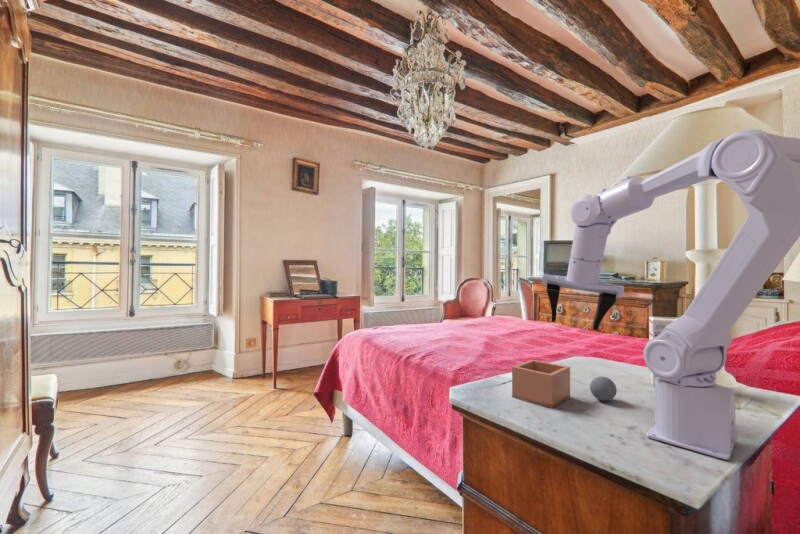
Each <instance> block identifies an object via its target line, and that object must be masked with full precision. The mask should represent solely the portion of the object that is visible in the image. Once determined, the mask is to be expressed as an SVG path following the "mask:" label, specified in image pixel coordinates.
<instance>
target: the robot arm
mask: <svg viewBox="0 0 800 534" xmlns="http://www.w3.org/2000/svg"><path fill="white" fill-rule="evenodd" d="M707 180H721V181H722V182H723V183H724V184H725V185H727V186H728V187H729V188H730V189H731V190H732V191H733V192H735V193H736V194H737V195H738V197H739V198H740V200H741V202H742V204H743V206H744V208H745V210H746V211H747V217H746V219H745V220H744V222H743V224H742V225H741V226H740V228H739V229H738V231H737V232H736V234H735V235H734V237H733V239H732V240H731V241H730V243H729V244H728V246H727V248H726V249H725V251H723V254H722V255H721V257H720V258H719V260H718V262H717V263H716V265H715V266H714V268H713V270H712V271H711V272H710V273H709V275H708V277H707V279H706V280H705V281H704V282H703V284H702V286H701V287H700V289H699V290H698V292H697V294H696V295H695V297H694V298H693V300H692V301H691V302H690V304H689V306H688V307H687V309H686V310H685V312H684V313H683V315H681V316H679V317H677V318H678V319H676V320H675V321H673V322H672V323H670V324H669V325H667V326H666V327H665V328H664V330H663V331H662V333H661V334H660V335H658V336H657V337H655V338H652V339H651V340H648V341H647V342H646V343H645V346H644V347H643V359H644V363H645V365H646V366H647V368H648V370H649V372H650V371H651V372H652V373H653V378H655V386H654V424H653V426H652V427H651V428H650V429H649V430H648V431H647V432H646V433H645V434H646V437H647V438H650V439H652V440H656V441H659V442H664V443H666V444H670V445H673V446H677V447H681V448H684V449H688V450H691V451H695V452H698V453H702V454H704V455H708V456H712V457H715V458H718V459H723V460H725V461H726V460H730V458H731V457H732V456H731V455H732V453H733V451H734V447H735V445H736V443H737V438H738V433H737V432H738V431H737V429H736V394H735V389H734V388H732V387H728V386H723V385H720V384H717V383H716V379H717V373H718V372H720V370H722V369H723V368H724V366H725V364H726V361H727V351H728V349H729V347H730V345H731V344H732V343H733V339H732V337H731V335H730V333H729V332H730V331H731V329H732V328H733V327H734V325H735V324H736V322H737V321H738V320H739V319H740V317H741V316H742V315H743V313H744V312H745V311H746V310H747V307H748V306H749V305H750V304H751V302H752V301H753V300H754V299H755V297H756V296H757V294H758V293H759V292H760V290H761V289H762V288H763V286H764V285H765V284H766V282H767V281H768V279H770V277H771V276H772V274H773V273H774V272H775V270H776V269H777V267H778V266H779V264H781V262H783V259H784V258H785V257H786V256H787V254H788V253H789V251H791V249H792V247H794V245H795V243H796V242H797V241H798V240H799V238H800V138H799V137H796V136H795V137H792V136H783V135H778V134H773V133H769V132H766V131H764V130H761V129H754V128H746V129H743V130H739V131H736V132H734V133H732V134H730V135H729V136H727V137H725V138H720V139H718V140H715V141H712V142H710V143H709V144H708V145H706V146H705V147H704V148H703V149H701V150H700V151H698V152H696V153H694V154H692V155H691V156H688V157H686V158H684V159H682V160H681V161H678V162H676V163H675V164H673V165H671V166H669V167H667V168H665V169H663V170H660V171H659V172H657V173H655V174H653V175H651V176H649V177H647V178H643V177H642V176H641V177H640V176H630V175H629V176H625V177H623V178H621V182H619V183H618V184H616V185H613V186H612V187H610V188H609V187H608V188H602V189H600V190H598V193H596V194H595V195H591V194H582V195H581V196H579V197H578V198H577V199H576V200H575V201H574V202H573V203H572V207H571V210H570V212H571V213H570V215H571V220H572V222H573V223H574V224H575V228H574V232H573V240H572V245H571V249H570V255H569V261H568V268H567V273H566V275H557V274H549V273H547V274H546V273H543V274H542V276H541V277H542V279H541V285H542V286H546V294H547V297H548V299H549V302H550V303H549V304H550V309H551V310H550V311H551V322H553V323H556V319H557V310H558V304H559V303H558V302H559V296H560V290H561V288H563V289H565V288H566V289H571V290H578V291H582V292H589V293H595V294H598V302H597V306H596V312H595V315H594V319H593V323H592V330H593V331H598V330H599V326H600V325H601V322H602V320H603V319H604V317H605V316H606V314H607V313H608V312H609V310H610V309H611V308H612V307H613V306H614V305H615V303H616V302H617V298H620V299H623V298H624V291H625V287H624V285H619V284H613V283H609V282H604V281H599V280H600V277H601V270H602V265H603V262H604V261H603V260H604V255H605V250H606V245H607V240H608V237H609V235H610V234H611V230H612V228H613V226H614V225H615V224H616V223H617V221H618V220H620V219H623V218H625V217H628V216H631V215H634V214H636V213H639V212H642V211H644V210H646V209H649V208H650V207H652V205H653V204H654V201H655V199H656V198H658V197H660V196H664V195H668V194H671V193H673V192H676V191H678V190H681V189H685V188H687V187H690V186H694V185H696V184H699V183H702V182H704V181H707Z"/></svg>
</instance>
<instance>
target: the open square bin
mask: <svg viewBox="0 0 800 534" xmlns="http://www.w3.org/2000/svg"><path fill="white" fill-rule="evenodd" d="M511 384H512V385H511V387H512V388H511V398H515V399H518V400H521V401H525V402H529V403H532V404H535V405H539V406H542V407H546V408H549V409H553V408H555V407H557V406H558V405H561V403H563V402H565V401H567V400H569V399H570V398H571V366H566V365H562V364H555V363H552V362H546V361H542V360H541V361H540V360H536V359H530V360H528V361H525V362H521V363H519V364H516V365H514V366H512V367H511Z"/></svg>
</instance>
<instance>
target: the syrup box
mask: <svg viewBox="0 0 800 534" xmlns="http://www.w3.org/2000/svg"><path fill="white" fill-rule="evenodd" d="M678 318H679V317H670V316H669V317H668V316H649V317H648V325H649V326H648V329H649V330H648V333H649V334H648V335H649V337H648V339H649V340H651V339H652V338H655V337H657V336H658V335H660V334H661V333H662V331H663V330H664V328H665V327H666V326H667V325H669V324H670V323H672V322H673V321H675V320H676V319H678ZM649 340H648V341H649ZM649 380H650V382H651V384H652V386H653V387H655V378H653V373H652V372H651V371H650V370H649Z"/></svg>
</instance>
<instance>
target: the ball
mask: <svg viewBox="0 0 800 534" xmlns="http://www.w3.org/2000/svg"><path fill="white" fill-rule="evenodd" d="M589 389H590V393H591V395H592V396H593V397H595V399H597V400H599V401H601V402H609V401H612V400H613V399H614V398H615V397H616V395H617V390H618V389H617V386H616V384H615V383H614V381H613V380H612V379H611V378H609V377H606V376H596V377H595V378H593V379H592V380H591V382H590V385H589Z"/></svg>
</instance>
